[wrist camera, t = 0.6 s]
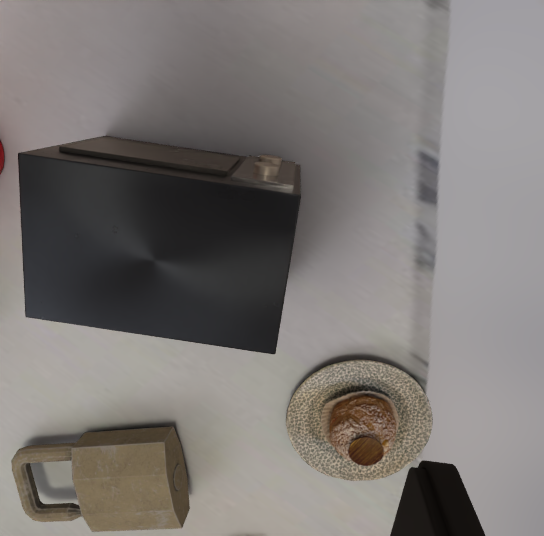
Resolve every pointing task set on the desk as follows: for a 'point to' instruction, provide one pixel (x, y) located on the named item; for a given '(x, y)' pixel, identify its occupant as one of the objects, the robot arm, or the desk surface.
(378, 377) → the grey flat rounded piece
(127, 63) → the desk surface
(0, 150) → the bottle
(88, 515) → the padlock
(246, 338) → the appliance
